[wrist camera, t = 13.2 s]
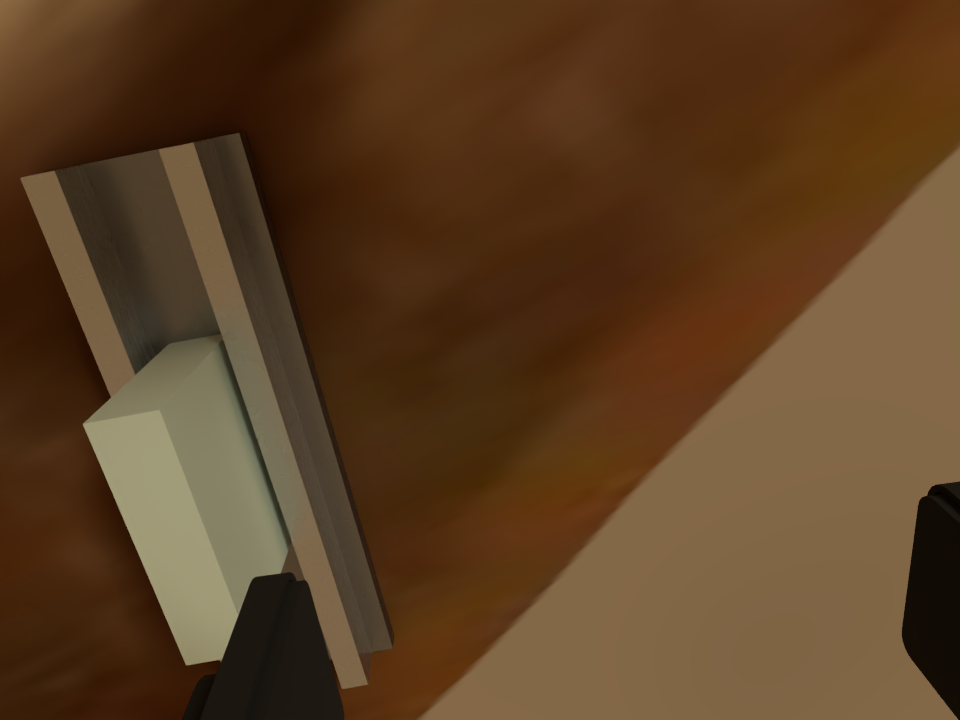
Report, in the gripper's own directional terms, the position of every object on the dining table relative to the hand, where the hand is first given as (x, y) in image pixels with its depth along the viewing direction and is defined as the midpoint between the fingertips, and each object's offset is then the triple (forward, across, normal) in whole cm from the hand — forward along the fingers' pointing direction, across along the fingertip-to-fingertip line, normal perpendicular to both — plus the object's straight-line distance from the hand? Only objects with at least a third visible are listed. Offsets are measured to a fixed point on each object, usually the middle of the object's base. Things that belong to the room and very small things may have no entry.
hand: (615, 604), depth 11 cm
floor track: (+26, +15, +9) cm, 32 cm away
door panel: (+25, +15, +9) cm, 31 cm away
